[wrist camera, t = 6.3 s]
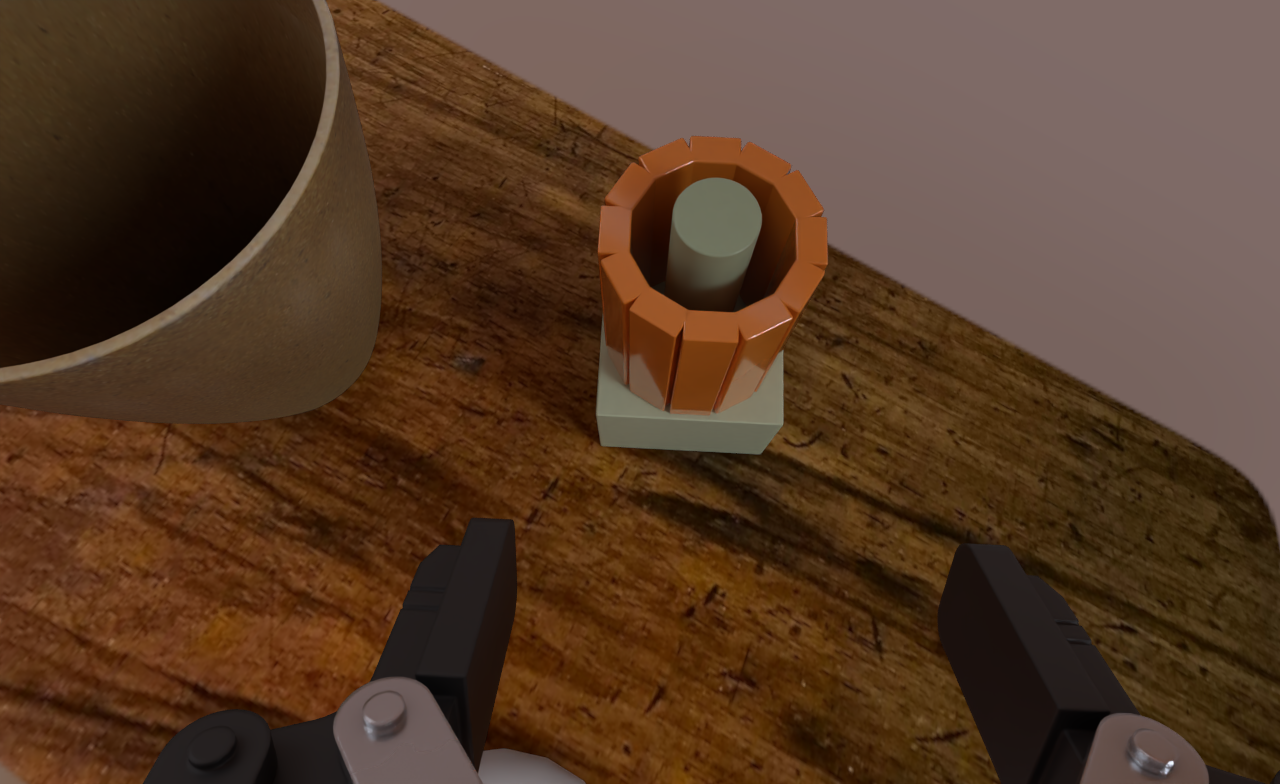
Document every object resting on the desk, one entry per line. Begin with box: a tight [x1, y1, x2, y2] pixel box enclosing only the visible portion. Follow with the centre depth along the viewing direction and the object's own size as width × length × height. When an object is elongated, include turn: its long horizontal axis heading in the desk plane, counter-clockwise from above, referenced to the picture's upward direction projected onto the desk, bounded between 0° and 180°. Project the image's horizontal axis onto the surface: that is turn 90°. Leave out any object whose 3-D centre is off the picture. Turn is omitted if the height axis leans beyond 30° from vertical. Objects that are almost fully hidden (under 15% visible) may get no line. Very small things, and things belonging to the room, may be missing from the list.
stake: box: [596, 178, 783, 454], centre depth 27 cm, size 7×7×14 cm
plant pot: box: [0, 0, 382, 424], centre depth 26 cm, size 15×15×16 cm
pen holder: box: [598, 136, 828, 416], centre depth 25 cm, size 6×6×8 cm
